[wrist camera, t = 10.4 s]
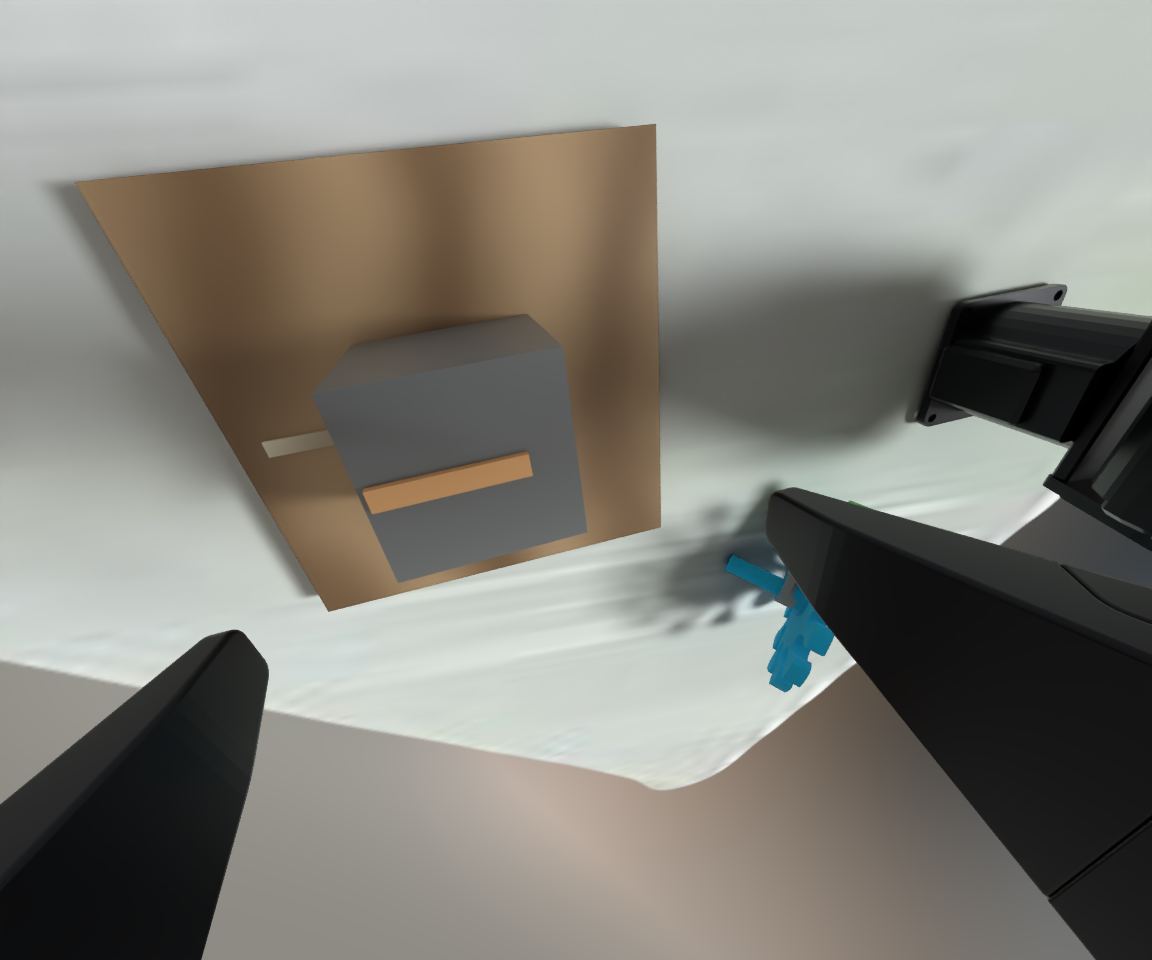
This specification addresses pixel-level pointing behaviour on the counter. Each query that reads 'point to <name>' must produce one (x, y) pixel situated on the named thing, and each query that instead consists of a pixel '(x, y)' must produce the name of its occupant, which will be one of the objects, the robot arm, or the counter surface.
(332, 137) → the counter surface
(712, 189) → the counter surface
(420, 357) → the grey box with handle
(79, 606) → the counter surface
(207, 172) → the plate
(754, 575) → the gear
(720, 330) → the counter surface
